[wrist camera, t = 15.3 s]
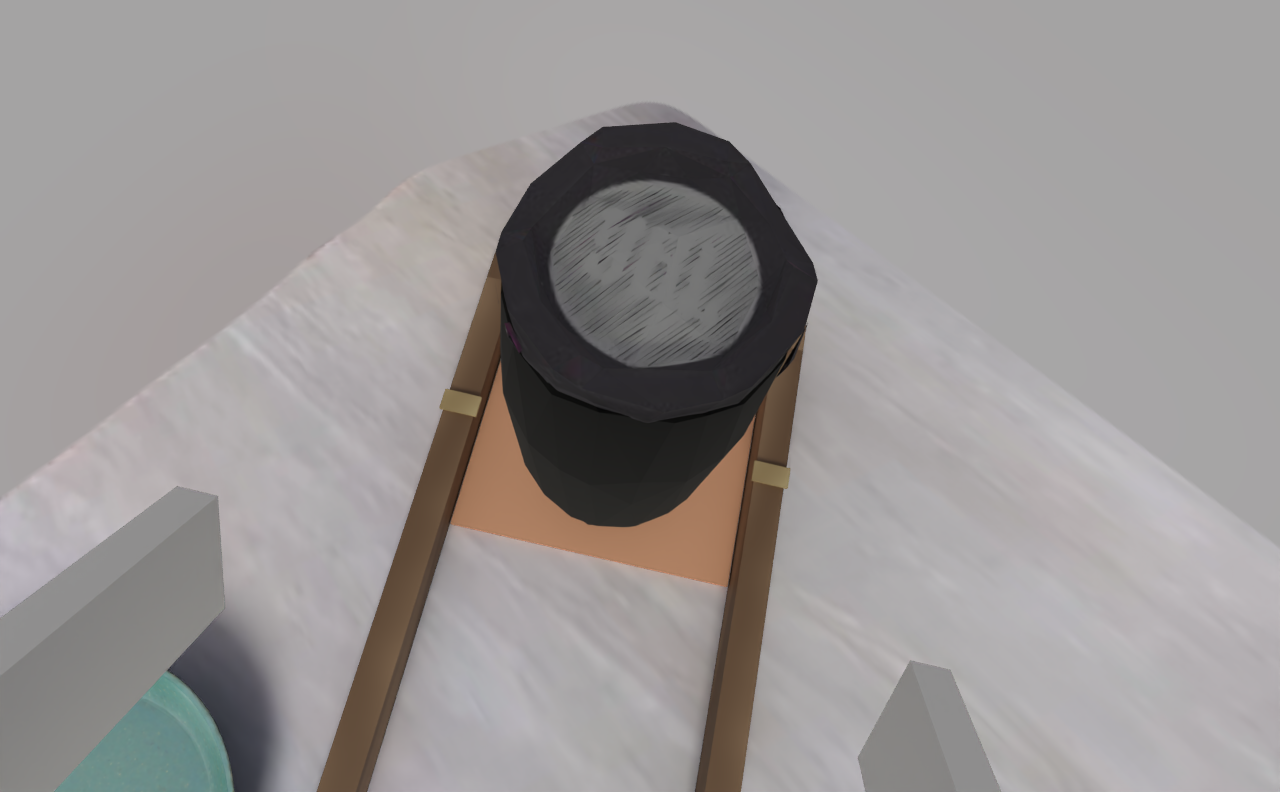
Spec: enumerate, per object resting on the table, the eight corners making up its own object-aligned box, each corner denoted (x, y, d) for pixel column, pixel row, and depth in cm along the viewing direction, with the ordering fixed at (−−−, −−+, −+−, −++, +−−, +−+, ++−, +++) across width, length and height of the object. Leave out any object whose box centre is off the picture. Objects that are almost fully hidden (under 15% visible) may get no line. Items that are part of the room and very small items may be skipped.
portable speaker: (518, 536, 33) (440, 416, 14) (544, 358, 36) (508, 71, 17) (692, 553, 33) (837, 460, 15) (703, 377, 36) (833, 116, 18)
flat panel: (759, 383, 37) (760, 381, 36) (726, 586, 33) (727, 586, 33) (512, 325, 36) (512, 322, 36) (451, 524, 33) (450, 523, 32)
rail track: (797, 341, 38) (810, 324, 36) (705, 975, 28) (716, 1003, 26) (496, 270, 37) (492, 249, 35) (295, 886, 27) (272, 907, 25)
